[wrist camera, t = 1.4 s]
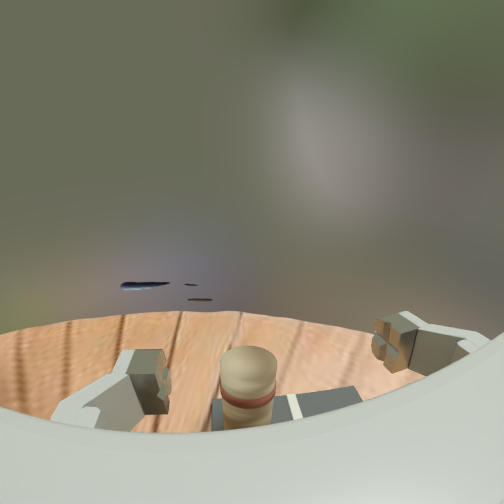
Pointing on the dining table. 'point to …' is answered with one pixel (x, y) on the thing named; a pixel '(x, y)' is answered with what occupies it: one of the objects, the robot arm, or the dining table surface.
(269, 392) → the skittle
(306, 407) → the lane mat
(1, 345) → the dining table surface
